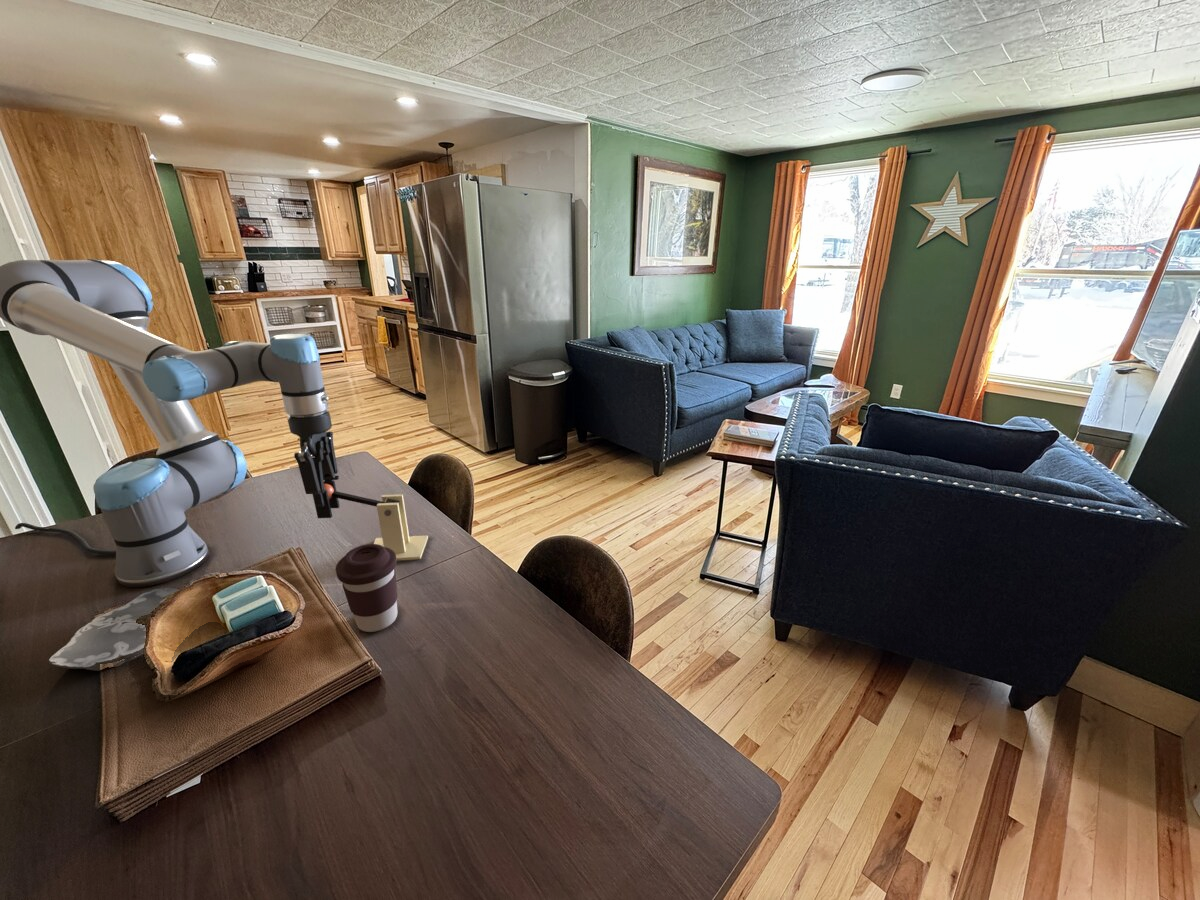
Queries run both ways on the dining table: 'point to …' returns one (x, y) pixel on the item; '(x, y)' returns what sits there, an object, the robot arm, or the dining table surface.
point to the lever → (354, 497)
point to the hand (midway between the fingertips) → (328, 512)
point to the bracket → (398, 530)
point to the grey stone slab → (111, 635)
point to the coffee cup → (370, 585)
